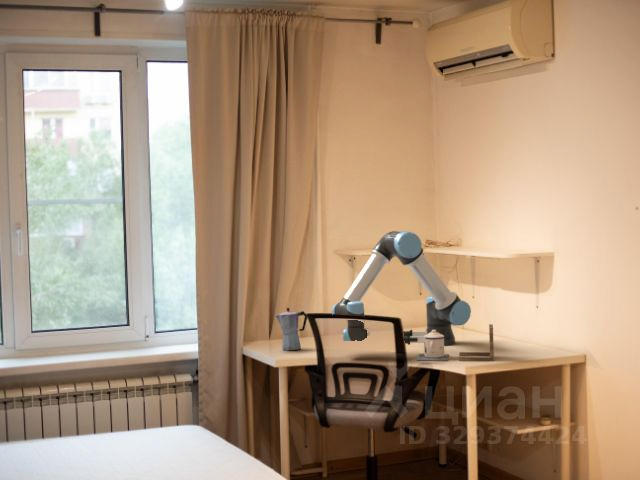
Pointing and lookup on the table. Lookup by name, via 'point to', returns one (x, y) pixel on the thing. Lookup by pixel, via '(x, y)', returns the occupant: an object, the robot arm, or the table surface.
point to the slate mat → (423, 358)
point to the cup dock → (480, 352)
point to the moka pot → (290, 329)
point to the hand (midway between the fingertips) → (426, 337)
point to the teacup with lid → (434, 345)
